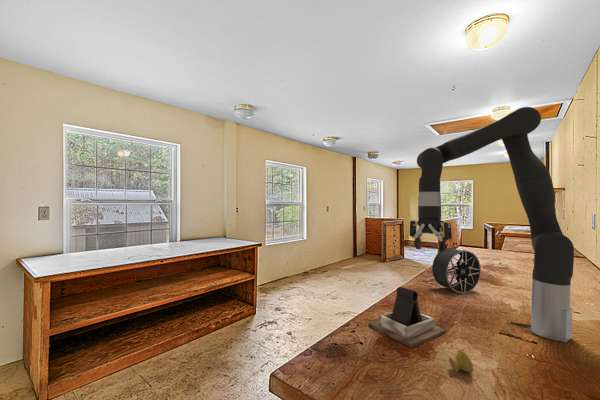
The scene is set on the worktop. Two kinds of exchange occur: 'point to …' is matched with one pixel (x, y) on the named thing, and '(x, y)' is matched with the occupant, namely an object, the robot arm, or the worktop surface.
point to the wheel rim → (457, 270)
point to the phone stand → (406, 307)
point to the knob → (461, 362)
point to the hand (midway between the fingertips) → (429, 250)
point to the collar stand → (408, 329)
